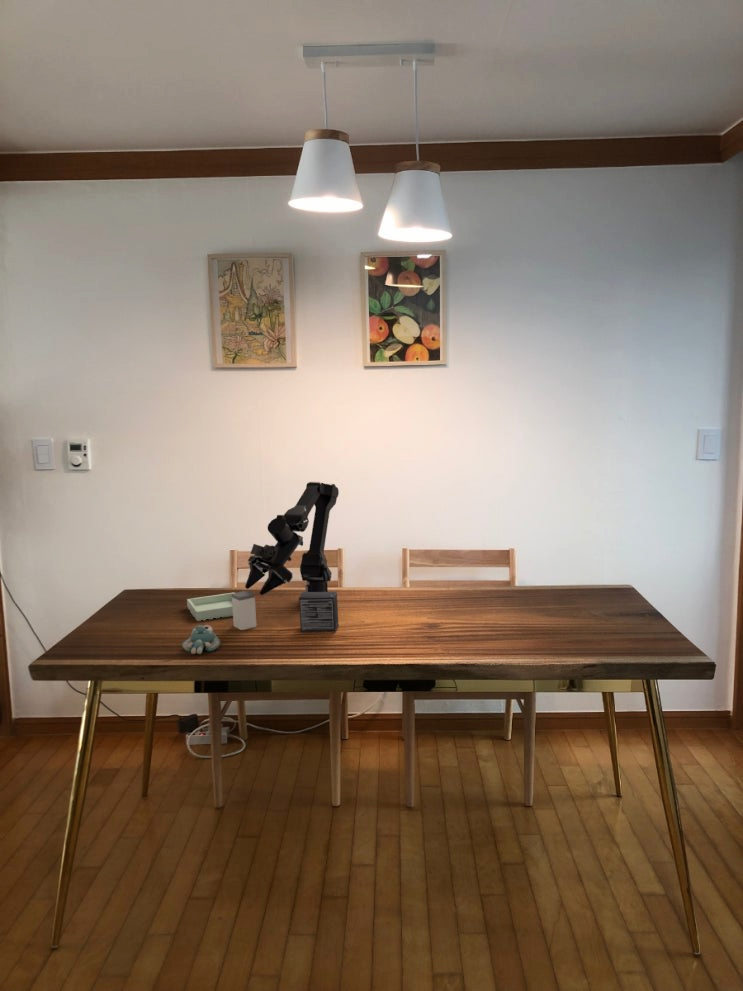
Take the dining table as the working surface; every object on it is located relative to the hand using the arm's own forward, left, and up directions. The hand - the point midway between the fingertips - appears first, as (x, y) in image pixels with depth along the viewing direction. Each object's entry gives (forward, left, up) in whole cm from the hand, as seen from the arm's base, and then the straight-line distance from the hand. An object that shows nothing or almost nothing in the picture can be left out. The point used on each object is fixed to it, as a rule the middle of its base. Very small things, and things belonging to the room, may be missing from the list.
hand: (253, 591), depth 239 cm
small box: (-16, +14, -10) cm, 23 cm away
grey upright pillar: (+3, +1, -10) cm, 11 cm away
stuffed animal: (+19, +14, -11) cm, 26 cm away
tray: (+7, -19, -10) cm, 23 cm away
